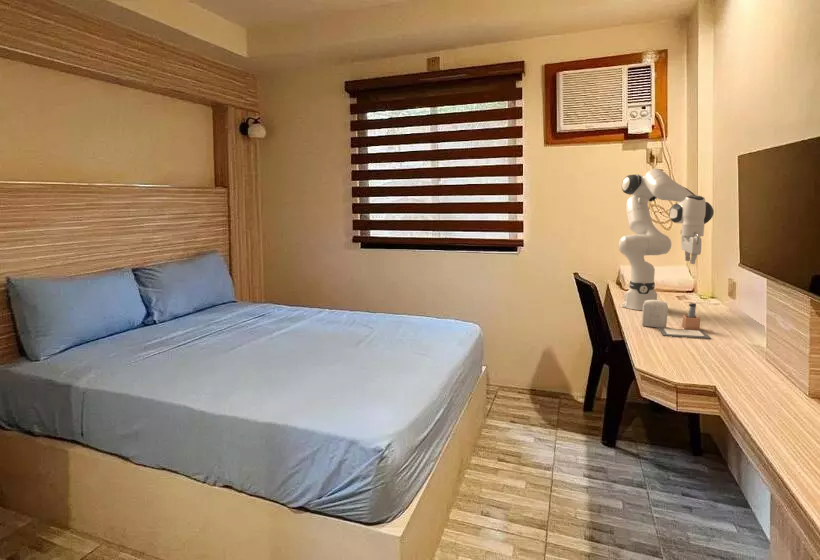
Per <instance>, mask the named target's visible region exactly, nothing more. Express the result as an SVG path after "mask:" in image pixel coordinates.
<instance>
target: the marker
mask: <svg viewBox="0 0 820 560" xmlns="http://www.w3.org/2000/svg"><path fill="white" fill-rule="evenodd" d="M696 308H697V303H694V302H690V303H689V304H688V314H687V315H688V318H695V316H696Z"/></svg>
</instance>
